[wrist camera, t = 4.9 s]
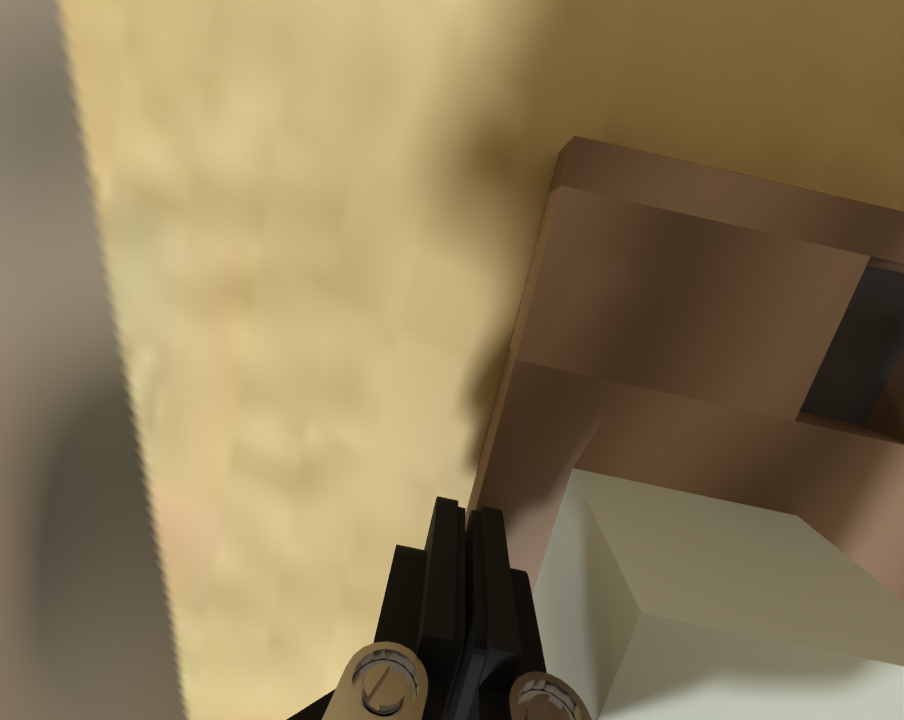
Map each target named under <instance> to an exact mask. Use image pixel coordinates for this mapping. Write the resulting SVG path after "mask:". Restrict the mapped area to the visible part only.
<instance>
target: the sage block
mask: <svg viewBox="0 0 904 720" xmlns="http://www.w3.org/2000/svg"><path fill="white" fill-rule="evenodd" d="M532 597H533V602H534V607H535V613H536V618H537V623H538V628H539V634H540V639H541V644H542V649H543V655H544V660H545V665H546V670H547V673H548V674H551V675H553V676H555V677H557V678H559V679H561V680H563V681H564V682H565V683H566V684H567V685H569V686H570V687H571V688H572V689H573V690H574V691H575V692H576V693H577V694H578V696H579V697H580V698H581V699H582V701H583V702H584V704H585V706H586V708H587V710H588V712H589V714H590V716H591V719H592V720H904V602H903V601H902V600H901V599H900V598H898V597H897V596H896V595H895V594H893V593H892V592H891V591H890V590H888V589H887V588H886V587H885V586H884V585H882V584H881V583H880V582H879V581H877V580H876V579H875V578H874V577H872V576H871V575H870V574H869V573H867V572H866V571H865V570H864V569H863V568H861V567H860V566H859V565H858V564H856V563H855V562H854V561H853V560H851V559H850V558H849V557H848V556H847V555H845V554H844V553H843V552H842V551H840V550H839V549H838V548H837V547H835V546H834V545H833V544H832V543H830V542H829V541H828V540H827V539H826V538H824V537H823V536H822V535H821V534H819V533H818V532H817V531H816V530H814V529H813V528H812V527H811V526H810V525H808V524H807V523H806V522H805V521H803V520H802V519H801V518H800V517H798V516H796V515H792V514H787V513H782V512H777V511H773V510H768V509H763V508H759V507H754V506H749V505H744V504H740V503H735V502H730V501H725V500H721V499H716V498H711V497H707V496H702V495H697V494H692V493H688V492H683V491H678V490H673V489H669V488H664V487H659V486H655V485H650V484H645V483H640V482H636V481H631V480H626V479H621V478H617V477H612V476H607V475H603V474H598V473H593V472H588V471H584V470H579V469H574V468H572V471H571V474H570V477H569V480H568V484H567V487H566V490H565V493H564V496H563V499H562V502H561V506H560V509H559V512H558V515H557V518H556V521H555V524H554V528H553V531H552V534H551V537H550V540H549V543H548V546H547V550H546V553H545V556H544V559H543V562H542V565H541V568H540V572H539V575H538V578H537V581H536V584H535V587H534V590H533V594H532Z"/></svg>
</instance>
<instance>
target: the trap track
mask: <svg viewBox="0 0 904 720" xmlns="http://www.w3.org/2000/svg"><path fill="white" fill-rule="evenodd" d="M572 468H574V469H579V470H584V471H588V472H593V473H598V474H603V475H607V476H612V477H617V478H621V479H626V480H631V481H636V482H640V483H645V484H650V485H655V486H659V487H664V488H669V489H673V490H678V491H683V492H688V493H692V494H697V495H702V496H707V497H711V498H716V499H721V500H725V501H730V502H735V503H740V504H744V505H749V506H754V507H759V508H763V509H768V510H773V511H777V512H782V513H787V514H792V515H796V516H798V517H800V518H801V519H802V520H803V521H805V522H806V523H807V524H808V525H810V526H811V527H812V528H813V529H814V530H816V531H817V532H818V533H819V534H821V535H822V536H823V537H824V538H826V539H827V540H828V541H829V542H830V543H832V544H833V545H834V546H835V547H837V548H838V549H839V550H840V551H842V552H843V553H844V554H845V555H847V556H848V557H849V558H850V559H851V560H853V561H854V562H855V563H856V564H858V565H859V566H860V567H861V568H863V569H864V570H865V571H866V572H867V573H869V574H870V575H871V576H872V577H874V578H875V579H876V580H877V581H879V582H880V583H881V584H882V585H884V586H885V587H886V588H887V589H888V590H890V591H891V592H892V593H893V594H895V595H896V596H897V597H898V598H900V599H901V600H902V601H903V602H904V212H902V211H897V210H893V209H889V208H884V207H880V206H876V205H871V204H867V203H863V202H858V201H854V200H850V199H845V198H841V197H837V196H832V195H828V194H824V193H820V192H815V191H811V190H807V189H802V188H798V187H794V186H789V185H785V184H781V183H776V182H772V181H768V180H763V179H759V178H755V177H750V176H746V175H742V174H737V173H733V172H729V171H724V170H720V169H716V168H711V167H707V166H703V165H699V164H694V163H690V162H686V161H681V160H677V159H673V158H668V157H664V156H660V155H655V154H651V153H647V152H642V151H638V150H634V149H629V148H625V147H621V146H616V145H612V144H608V143H603V142H599V141H595V140H590V139H586V138H582V137H578V136H574V137H573V138H572V139H571V140H570V141H569V142H568V143H567V144H566V145H565V146H564V148H563V149H562V150H561V151H560V153H559V157H558V161H557V165H556V168H555V172H554V176H553V180H552V184H551V188H550V192H549V195H548V199H547V203H546V207H545V211H544V215H543V219H542V222H541V226H540V230H539V234H538V238H537V242H536V246H535V249H534V253H533V257H532V261H531V265H530V269H529V273H528V276H527V280H526V284H525V288H524V292H523V296H522V300H521V303H520V307H519V311H518V315H517V319H516V323H515V327H514V330H513V334H512V338H511V342H510V346H509V350H508V354H507V358H506V361H505V365H504V369H503V373H502V377H501V381H500V385H499V388H498V392H497V396H496V400H495V404H494V408H493V412H492V415H491V419H490V423H489V427H488V431H487V435H486V439H485V442H484V446H483V450H482V454H481V458H480V462H479V466H478V469H477V473H476V477H475V481H474V485H473V489H472V493H471V496H470V500H469V504H468V508H467V512H466V516H465V530H466V526H467V522H468V518H469V515H470V511H471V510H476V511H478V509H479V507H480V506H486V507H491V508H495V509H500V510H502V512H503V519H504V526H505V534H506V541H507V548H508V555H509V563H510V568H513V569H518V570H523V571H526V572H527V573H528V577H529V581H530V586H531V592H532V594H533V590H534V587H535V584H536V581H537V578H538V575H539V572H540V568H541V565H542V562H543V559H544V556H545V553H546V550H547V546H548V543H549V540H550V537H551V534H552V531H553V528H554V524H555V521H556V518H557V515H558V512H559V509H560V506H561V502H562V499H563V496H564V493H565V490H566V487H567V484H568V480H569V477H570V474H571V471H572Z"/></svg>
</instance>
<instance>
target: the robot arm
mask: <svg viewBox="0 0 904 720" xmlns="http://www.w3.org/2000/svg"><path fill="white" fill-rule="evenodd" d="M287 720H592V719H591V716H590V714H589V712H588V710H587V708H586V706H585V704H584V702H583V701H582V699H581V698H580V697H579V696H578V694H577V693H576V692H575V691H574V690H573V689H572V688H571V687H570V686H569V685H567V684H566V683H565V682H564V681H563V680H561V679H559V678H557V677H555V676H553V675H551V674H548V673H547V670H546V665H545V660H544V655H543V649H542V644H541V639H540V634H539V628H538V623H537V618H536V613H535V607H534V602H533V597H532V592H531V586H530V581H529V577H528V573H527V572H526V571H523V570H518V569H513V568H510V563H509V555H508V548H507V541H506V534H505V526H504V519H503V512H502V510H500V509H495V508H491V507H486V506H480V507H479V509H478V511H476V510H471V511H470V515H469V518H468V522H467V526H466V530H465V508H461V507H458V501H457V500H452V499H447V498H443V497H438V496H437V498H436V502H435V506H434V511H433V515H432V519H431V523H430V528H429V532H428V536H427V540H426V545H425V549H424V550H421V549H416V548H411V547H406V546H401V545H396V549H395V553H394V557H393V562H392V566H391V570H390V574H389V579H388V583H387V587H386V592H385V596H384V600H383V605H382V609H381V613H380V617H379V622H378V626H377V630H376V635H375V639H374V643H372V644H370V645H367V646H365V647H363V648H362V649H360V650H359V651H358V652H357V653H356V654H354V655H353V657H352V658H351V660H350V661H349V663H348V664H347V666H346V668H345V670H344V672H343V674H342V677H341V679H340V681H339V683H338V685H337V688H336V689H335V690H333V691H331V692H330V693H328V694H327V695H325V696H324V697H322V698H320V699H319V700H317V701H316V702H314V703H312V704H311V705H309V706H308V707H306V708H305V709H303V710H301V711H300V712H298V713H297V714H295V715H293V716H292V717H290V718H289V719H287Z"/></svg>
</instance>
